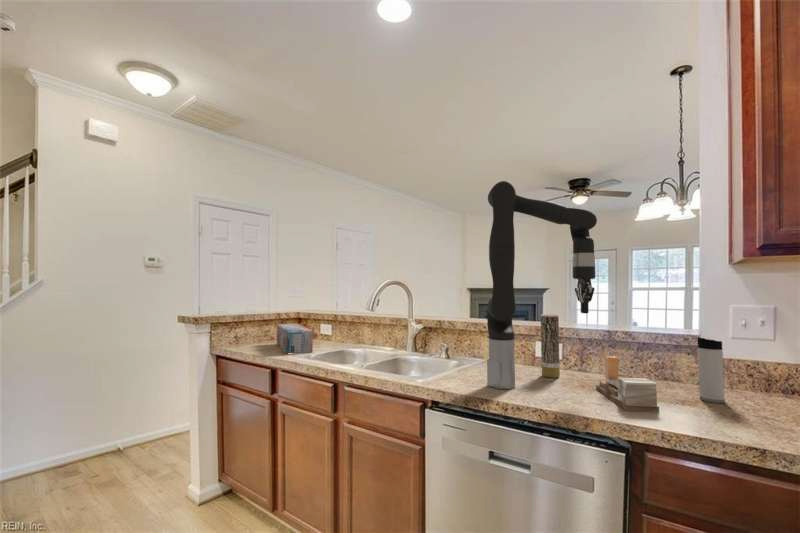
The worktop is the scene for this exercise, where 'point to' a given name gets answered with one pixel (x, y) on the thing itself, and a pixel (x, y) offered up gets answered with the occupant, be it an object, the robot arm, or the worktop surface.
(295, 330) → the soda box
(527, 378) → the worktop surface
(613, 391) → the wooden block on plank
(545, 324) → the bark textured post
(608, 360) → the orange flat block
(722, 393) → the travel mug
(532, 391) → the worktop surface
